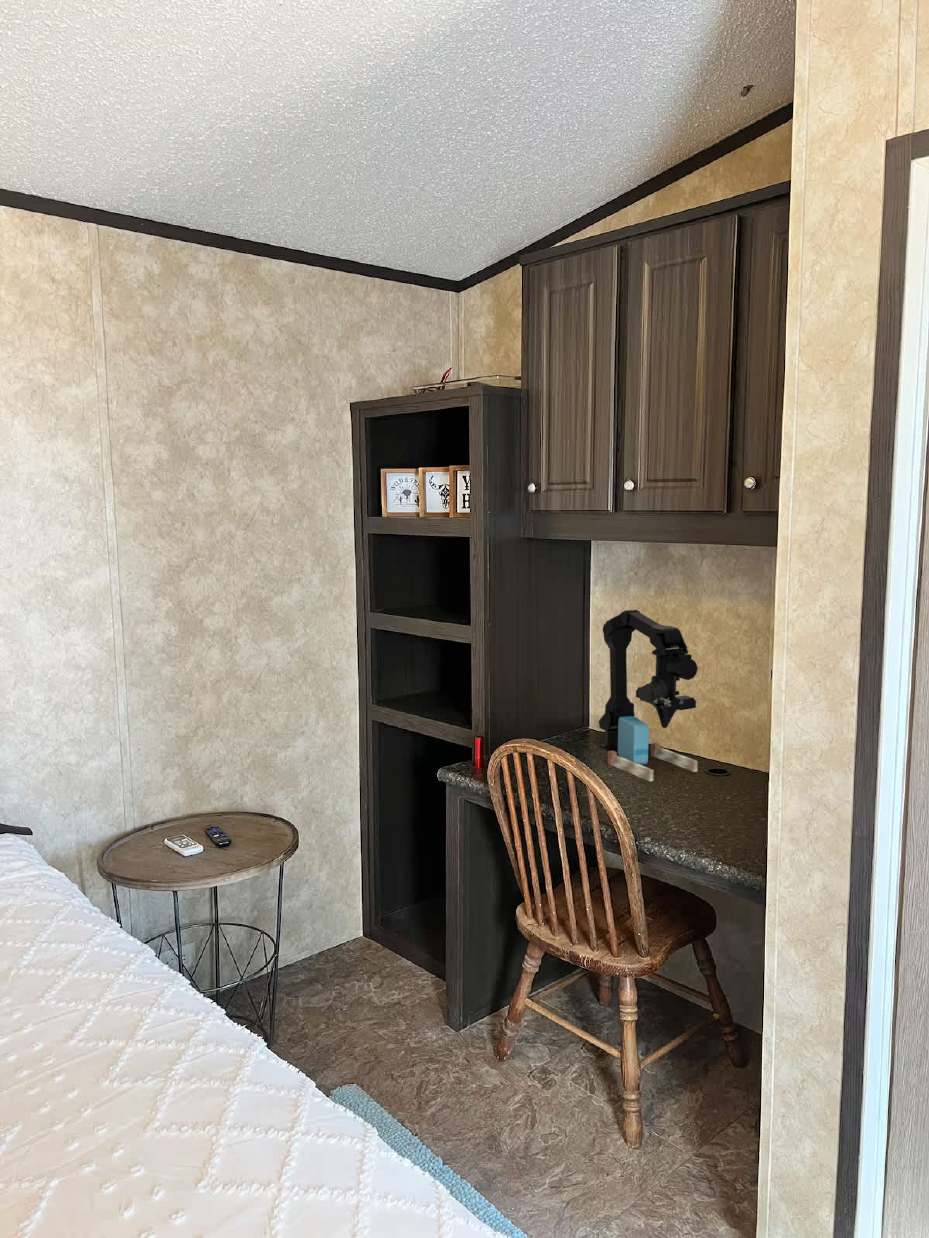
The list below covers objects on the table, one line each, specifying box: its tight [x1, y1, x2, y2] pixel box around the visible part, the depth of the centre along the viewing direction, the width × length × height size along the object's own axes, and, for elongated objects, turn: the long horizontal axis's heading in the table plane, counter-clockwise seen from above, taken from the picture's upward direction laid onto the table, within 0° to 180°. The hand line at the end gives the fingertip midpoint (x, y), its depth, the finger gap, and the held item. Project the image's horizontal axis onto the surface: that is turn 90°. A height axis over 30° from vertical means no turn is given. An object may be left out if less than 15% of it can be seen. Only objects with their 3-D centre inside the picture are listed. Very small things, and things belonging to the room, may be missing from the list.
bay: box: [607, 742, 699, 782], centre depth 264 cm, size 18×18×4 cm
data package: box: [617, 716, 650, 766], centre depth 271 cm, size 12×4×12 cm, turn 13°
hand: (664, 727), depth 259 cm, fingers closed
